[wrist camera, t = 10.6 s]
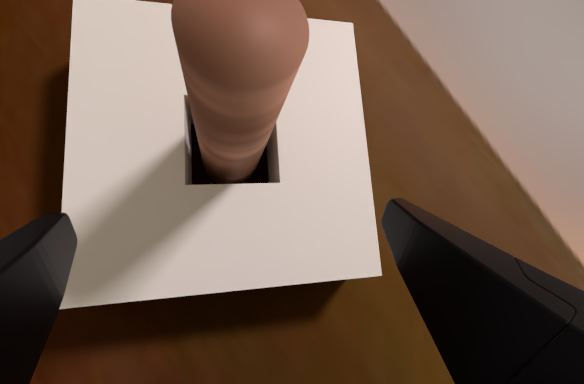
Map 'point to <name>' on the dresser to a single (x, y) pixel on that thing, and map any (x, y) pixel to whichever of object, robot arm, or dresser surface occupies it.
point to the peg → (237, 75)
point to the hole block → (212, 197)
